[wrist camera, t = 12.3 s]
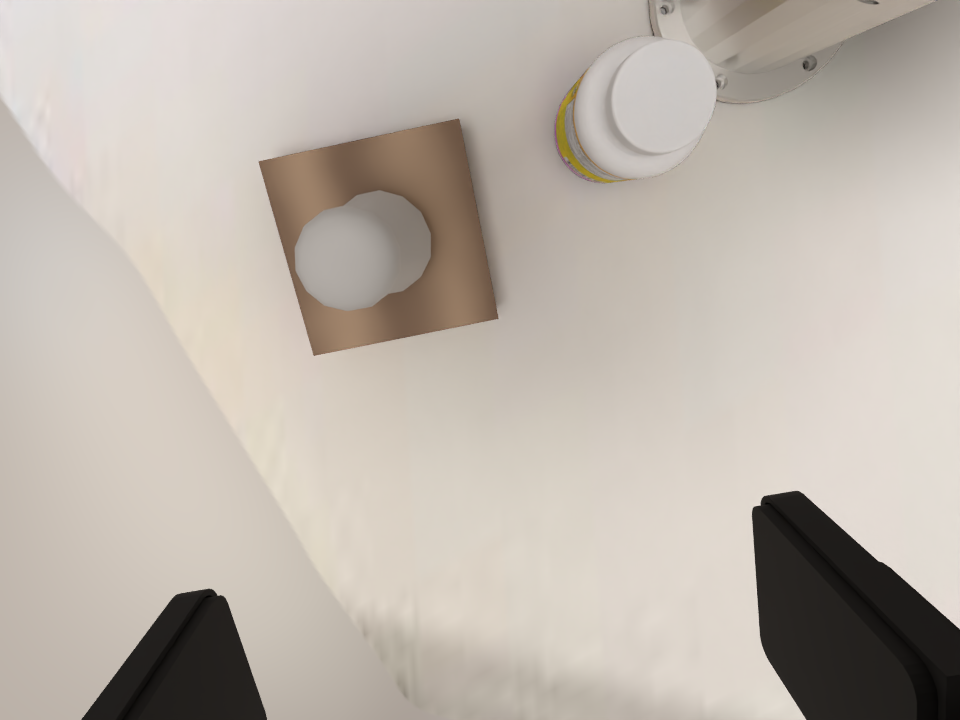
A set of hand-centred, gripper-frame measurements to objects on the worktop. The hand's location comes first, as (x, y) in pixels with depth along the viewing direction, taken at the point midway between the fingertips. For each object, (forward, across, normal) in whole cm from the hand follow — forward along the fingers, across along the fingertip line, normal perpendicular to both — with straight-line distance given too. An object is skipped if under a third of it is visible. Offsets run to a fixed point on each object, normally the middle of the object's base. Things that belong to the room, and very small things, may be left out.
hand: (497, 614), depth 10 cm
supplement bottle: (+32, -10, -10) cm, 35 cm away
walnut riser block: (+32, +5, -5) cm, 33 cm away
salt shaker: (+28, +5, -5) cm, 29 cm away
